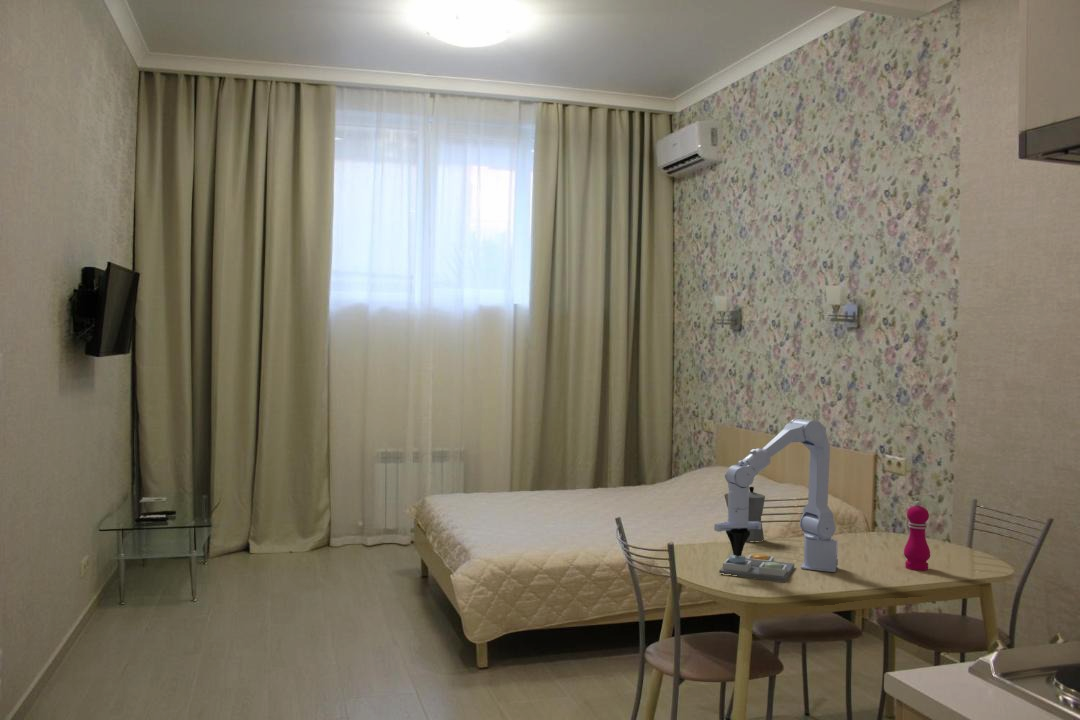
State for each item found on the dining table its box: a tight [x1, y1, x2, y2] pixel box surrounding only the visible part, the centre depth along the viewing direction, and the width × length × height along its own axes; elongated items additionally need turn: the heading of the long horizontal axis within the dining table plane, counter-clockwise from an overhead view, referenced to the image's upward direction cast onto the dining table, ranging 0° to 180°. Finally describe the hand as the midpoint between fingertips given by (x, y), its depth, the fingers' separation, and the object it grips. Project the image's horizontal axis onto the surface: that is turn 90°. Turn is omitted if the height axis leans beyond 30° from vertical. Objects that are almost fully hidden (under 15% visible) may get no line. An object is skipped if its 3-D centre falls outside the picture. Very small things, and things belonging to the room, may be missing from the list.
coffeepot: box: [745, 486, 766, 543], centre depth 294 cm, size 15×9×18 cm, turn 138°
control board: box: [718, 553, 795, 583], centre depth 251 cm, size 18×19×3 cm
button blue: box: [728, 554, 747, 564], centre depth 249 cm, size 5×5×2 cm
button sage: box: [765, 562, 782, 569], centre depth 245 cm, size 5×5×2 cm
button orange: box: [752, 553, 769, 560], centre depth 255 cm, size 5×5×2 cm
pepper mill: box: [903, 500, 931, 572], centre depth 258 cm, size 7×7×20 cm
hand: (737, 555), depth 249 cm, fingers closed
